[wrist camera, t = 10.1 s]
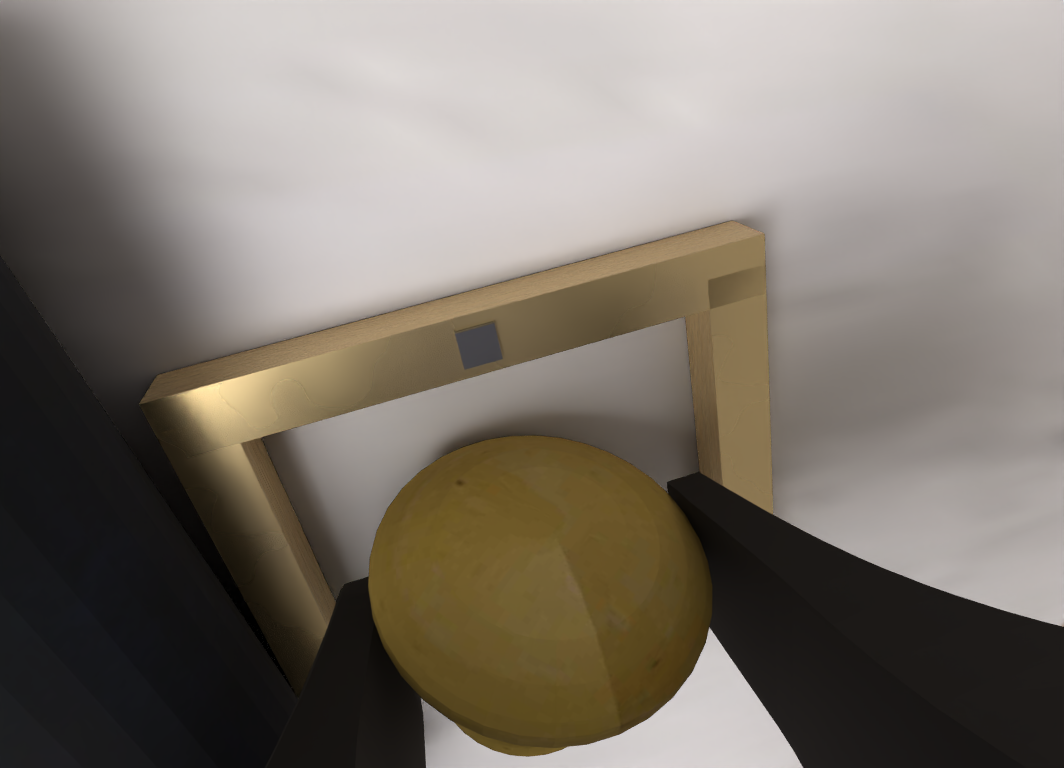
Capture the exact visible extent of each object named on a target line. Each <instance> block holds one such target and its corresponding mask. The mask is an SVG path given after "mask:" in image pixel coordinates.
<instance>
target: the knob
mask: <svg viewBox="0 0 1064 768" xmlns="http://www.w3.org/2000/svg"><path fill="white" fill-rule="evenodd" d="M368 589H369V596H370V602H371V609H372V616H373V620H374V623H375V625H376V628H377V631H378V633H379V636H380V639H381V642H382V644H383V647H384V649H385V650H386V652H387V654H388V655H389V657H390V659H391V660H392V662H393V663H394V665H395V667H396V668H397V670H398V672H399V673H400V675H401V676H402V677H403V678H404V680H405V681H406V682H407V683H408V684H409V685H410V686H411V687H412V688H413V689H414V690H415V691H416V693H417V694H418V695H419V696H420V697H421V698H422V699H423V700H424V701H425V702H427V703H428V704H429V705H431V706H432V707H433V708H435V709H436V710H437V711H439V712H440V713H442V714H443V715H444V716H446V717H447V718H448V719H450V720H451V721H453V722H455V723H456V725H457V726H458V727H459V728H460V729H461V730H462V731H463V732H464V733H465V734H467V735H468V736H469V737H471V738H472V739H473V740H475V741H476V742H477V743H479V744H481V745H484V746H486V747H488V748H490V749H492V750H494V751H498V752H501V753H505V754H508V755H515V756H538V755H546V754H549V753H552V752H556V751H559V750H562V749H564V748H566V747H568V746H578V745H587V744H590V743H594V742H597V741H600V740H603V739H606V738H610V737H613V736H616V735H619V734H621V733H623V732H625V731H627V730H628V729H630V728H632V727H634V726H636V725H638V724H639V723H641V722H643V721H645V720H647V719H648V718H650V717H651V716H652V715H653V714H654V713H655V712H657V711H658V710H659V709H660V708H661V707H662V706H664V705H665V704H666V703H667V702H668V701H669V700H671V699H672V698H673V697H674V695H675V694H676V693H677V691H678V690H679V689H680V687H681V686H682V685H683V683H684V682H685V681H686V680H687V678H688V677H689V676H690V674H691V673H692V671H693V669H694V667H695V665H696V663H697V661H698V658H699V656H700V654H701V652H702V650H703V648H704V645H705V643H706V639H707V634H708V630H709V626H710V621H711V617H712V582H711V576H710V571H709V565H708V560H707V558H706V555H705V552H704V550H703V547H702V544H701V542H700V539H699V537H698V536H697V534H696V532H695V531H694V529H693V527H692V525H691V524H690V522H689V520H688V518H687V517H686V515H685V513H684V512H683V511H682V510H681V508H680V507H679V506H678V505H677V503H676V502H675V501H674V500H673V498H672V497H671V496H670V495H669V494H668V493H667V492H666V491H665V490H664V489H663V488H662V487H660V486H659V485H658V484H657V483H656V482H655V481H654V480H653V479H652V478H650V477H649V476H648V475H646V474H645V473H643V472H642V471H640V470H639V469H637V468H636V467H635V466H633V465H632V464H630V463H628V462H626V461H624V460H623V459H621V458H619V457H617V456H615V455H613V454H611V453H609V452H607V451H604V450H601V449H598V448H596V447H593V446H590V445H587V444H585V443H580V442H576V441H572V440H567V439H563V438H556V437H546V436H536V435H532V436H508V437H502V438H496V439H489V440H485V441H481V442H478V443H475V444H471V445H468V446H465V447H462V448H460V449H458V450H456V451H453V452H451V453H449V454H447V455H445V456H443V457H441V458H439V459H438V460H436V461H435V462H433V463H432V464H430V465H429V466H427V467H426V468H424V469H423V470H421V471H420V472H419V473H418V474H417V475H416V476H415V477H414V478H413V479H412V480H411V481H410V482H408V483H407V484H406V485H405V486H404V487H403V488H402V490H401V491H400V492H399V494H398V495H397V496H396V498H395V499H394V500H393V502H392V503H391V504H390V506H389V507H388V509H387V511H386V513H385V515H384V517H383V519H382V521H381V523H380V525H379V527H378V529H377V532H376V536H375V540H374V544H373V548H372V551H371V555H370V563H369V582H368Z"/></svg>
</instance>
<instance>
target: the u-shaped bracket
mask: <svg viewBox="0 0 1064 768" xmlns="http://www.w3.org/2000/svg"><path fill="white" fill-rule="evenodd" d="M681 317H685V319H686V330H687V341H688V352H689V363H690V373H691V384H692V395H693V406H694V417H695V427H696V438H697V449H698V460H699V471H700V473H702V474H703V475H705V476H707V477H709V478H710V479H712V480H714V481H715V482H717V483H719V484H721V485H722V486H724V487H726V488H727V489H729V490H731V491H733V492H734V493H736V494H738V495H739V496H741V497H743V498H745V499H746V500H748V501H750V502H752V503H753V504H755V505H757V506H758V507H760V508H762V509H764V510H766V511H767V512H769V513H771V514H773V493H772V460H771V428H770V395H769V363H768V330H767V298H766V265H765V234H764V233H762V232H759V231H757V230H754V229H752V228H749V227H747V226H744V225H742V224H740V223H737V222H735V221H729V222H726V223H722V224H718V225H714V226H711V227H707V228H703V229H700V230H696V231H692V232H688V233H685V234H681V235H677V236H673V237H670V238H666V239H662V240H659V241H655V242H651V243H647V244H644V245H640V246H636V247H632V248H629V249H625V250H621V251H618V252H614V253H610V254H606V255H603V256H599V257H595V258H591V259H588V260H584V261H580V262H577V263H573V264H569V265H565V266H562V267H558V268H554V269H550V270H547V271H543V272H539V273H536V274H532V275H528V276H524V277H521V278H517V279H513V280H509V281H506V282H502V283H498V284H495V285H491V286H487V287H483V288H480V289H476V290H472V291H468V292H465V293H461V294H457V295H454V296H450V297H446V298H442V299H439V300H435V301H431V302H427V303H424V304H420V305H416V306H413V307H409V308H405V309H401V310H398V311H394V312H390V313H386V314H383V315H379V316H375V317H372V318H368V319H364V320H360V321H357V322H353V323H349V324H345V325H342V326H338V327H334V328H331V329H327V330H323V331H319V332H316V333H312V334H308V335H304V336H301V337H297V338H293V339H290V340H286V341H282V342H278V343H275V344H271V345H267V346H263V347H260V348H256V349H252V350H249V351H245V352H241V353H237V354H234V355H230V356H226V357H222V358H219V359H215V360H211V361H208V362H204V363H200V364H196V365H193V366H189V367H185V368H181V369H178V370H174V371H170V372H167V373H163V374H159V375H157V376H156V378H155V379H154V381H153V382H152V384H151V386H150V387H149V389H148V390H147V392H146V394H145V395H144V397H143V398H142V400H141V402H140V403H139V406H140V408H141V409H142V411H143V413H144V415H145V417H146V419H147V421H148V422H149V424H150V426H151V428H152V430H153V432H154V433H155V435H156V437H157V439H158V441H159V443H160V445H161V446H162V448H163V450H164V452H165V454H166V456H167V457H168V459H169V461H170V463H171V465H172V467H173V469H174V470H175V472H176V474H177V476H178V478H179V480H180V481H181V483H182V485H183V487H184V489H185V491H186V493H187V494H188V496H189V498H190V500H191V502H192V504H193V505H194V507H195V509H196V511H197V513H198V515H199V516H200V518H201V520H202V522H203V524H204V526H205V528H206V529H207V531H208V533H209V535H210V537H211V539H212V540H213V542H214V544H215V546H216V548H217V550H218V552H219V553H220V555H221V557H222V559H223V561H224V563H225V564H226V566H227V568H228V570H229V572H230V574H231V576H232V577H233V579H234V581H235V583H236V585H237V587H238V588H239V590H240V592H241V594H242V596H243V598H244V600H245V601H246V603H247V605H248V607H249V609H250V611H251V612H252V614H253V616H254V618H255V620H256V622H257V624H258V625H259V627H260V629H261V631H262V633H263V635H264V636H265V638H266V640H267V642H268V644H269V646H270V647H271V649H272V651H273V653H274V655H275V657H276V659H277V660H278V662H279V664H280V666H281V668H282V670H283V671H284V673H285V675H286V677H287V679H288V681H289V683H290V684H291V686H292V688H293V690H294V692H295V694H296V695H297V697H298V698H299V696H300V693H301V691H302V689H303V686H304V684H305V682H306V679H307V677H308V674H309V672H310V670H311V667H312V665H313V663H314V660H315V658H316V655H317V653H318V650H319V648H320V645H321V643H322V640H323V637H324V635H325V632H326V629H327V627H328V624H329V621H330V619H331V616H332V613H333V610H334V607H335V604H336V602H335V600H334V597H333V595H332V593H331V591H330V589H329V587H328V584H327V582H326V580H325V578H324V576H323V573H322V571H321V569H320V567H319V565H318V562H317V560H316V558H315V556H314V554H313V551H312V549H311V547H310V545H309V543H308V540H307V538H306V536H305V534H304V532H303V529H302V527H301V525H300V523H299V521H298V518H297V516H296V514H295V512H294V510H293V507H292V505H291V503H290V501H289V499H288V496H287V494H286V492H285V490H284V488H283V485H282V483H281V481H280V479H279V477H278V475H277V472H276V470H275V468H274V466H273V464H272V461H271V459H270V457H269V455H268V453H267V450H266V448H265V446H264V444H263V442H262V439H261V437H264V436H267V435H271V434H274V433H278V432H281V431H285V430H289V429H292V428H296V427H299V426H303V425H306V424H310V423H313V422H317V421H320V420H324V419H327V418H331V417H334V416H338V415H341V414H345V413H348V412H352V411H355V410H359V409H362V408H366V407H369V406H373V405H376V404H380V403H383V402H387V401H390V400H394V399H397V398H401V397H404V396H408V395H411V394H415V393H418V392H422V391H425V390H429V389H432V388H436V387H439V386H443V385H446V384H450V383H453V382H457V381H460V380H464V379H467V378H471V377H474V376H478V375H481V374H485V373H488V372H492V371H495V370H499V369H502V368H506V367H510V366H513V365H517V364H520V363H524V362H527V361H531V360H534V359H538V358H541V357H545V356H548V355H552V354H555V353H559V352H562V351H566V350H569V349H573V348H576V347H580V346H583V345H587V344H590V343H594V342H597V341H601V340H604V339H608V338H611V337H615V336H618V335H622V334H625V333H629V332H632V331H636V330H639V329H643V328H646V327H650V326H653V325H657V324H660V323H664V322H667V321H671V320H674V319H678V318H681Z"/></svg>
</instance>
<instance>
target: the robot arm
mask: <svg viewBox="0 0 1064 768" xmlns="http://www.w3.org/2000/svg"><path fill="white" fill-rule="evenodd" d="M667 487H668V494H669V495H670V496H671V497H672V498H673V500H674V501H675V502H676V503H677V505H678V506H679V507H680V508H681V510H682V511H683V512H684V513H685V515H686V517H687V518H688V520H689V522H690V524H691V525H692V527H693V529H694V531H695V532H696V534H697V536H698V537H699V539H700V542H701V544H702V547H703V550H704V552H705V555H706V558H707V560H708V565H709V571H710V576H711V582H712V617H711V621H710V626H709V627H710V628H711V630H712V631H713V633H714V634H715V636H716V637H717V639H718V640H719V642H720V643H721V644H722V646H723V647H724V649H725V650H726V652H727V653H728V655H729V656H730V658H731V659H732V660H733V662H734V663H735V665H736V666H737V668H738V669H739V671H740V672H741V673H742V675H743V676H744V678H745V679H746V681H747V682H748V684H749V685H750V686H751V688H752V689H753V691H754V692H755V694H756V695H757V697H758V698H759V699H760V701H761V702H762V704H763V705H764V707H765V708H766V710H767V711H768V712H769V714H770V715H771V717H772V718H773V720H774V721H775V723H776V724H777V725H778V727H779V729H780V730H781V732H782V733H783V735H784V736H785V738H786V740H787V741H788V743H789V744H790V746H791V747H792V749H793V751H794V752H795V754H796V756H797V757H798V759H799V761H800V763H801V764H802V766H803V768H1064V627H1062V626H1058V625H1054V624H1050V623H1046V622H1042V621H1038V620H1035V619H1031V618H1028V617H1024V616H1021V615H1017V614H1013V613H1010V612H1006V611H1003V610H1000V609H997V608H994V607H990V606H987V605H984V604H981V603H978V602H975V601H972V600H968V599H965V598H962V597H959V596H956V595H953V594H950V593H947V592H944V591H941V590H939V589H936V588H933V587H930V586H927V585H925V584H922V583H920V582H917V581H914V580H912V579H909V578H907V577H904V576H902V575H899V574H897V573H894V572H891V571H889V570H886V569H884V568H881V567H879V566H877V565H874V564H872V563H870V562H867V561H865V560H863V559H861V558H858V557H856V556H854V555H852V554H850V553H848V552H846V551H843V550H841V549H839V548H837V547H835V546H833V545H831V544H828V543H826V542H824V541H822V540H820V539H818V538H816V537H814V536H812V535H810V534H808V533H806V532H804V531H802V530H801V529H799V528H797V527H795V526H793V525H791V524H789V523H787V522H786V521H784V520H782V519H780V518H778V517H776V516H774V515H773V514H771V513H769V512H767V511H766V510H764V509H762V508H760V507H758V506H757V505H755V504H753V503H752V502H750V501H748V500H746V499H745V498H743V497H741V496H739V495H738V494H736V493H734V492H733V491H731V490H729V489H727V488H726V487H724V486H722V485H721V484H719V483H717V482H715V481H714V480H712V479H710V478H709V477H707V476H705V475H703V474H702V473H700V472H697V473H694V474H691V475H688V476H685V477H682V478H678V479H675V480H672V481H669V482H667ZM368 582H369V577H366V578H363V579H360V580H356V581H353V582H350V583H347V584H344V586H343V587H342V589H341V590H340V593H339V596H338V598H337V601H336V604H335V607H334V610H333V613H332V616H331V619H330V621H329V624H328V627H327V629H326V632H325V635H324V637H323V640H322V643H321V645H320V648H319V650H318V653H317V655H316V658H315V660H314V663H313V665H312V667H311V670H310V672H309V674H308V677H307V679H306V682H305V684H304V686H303V689H302V691H301V693H300V696H299V698H298V700H297V702H296V705H295V707H294V709H293V711H292V713H291V715H290V717H289V719H288V721H287V723H286V726H285V728H284V730H283V732H282V734H281V736H280V738H279V740H278V742H277V744H276V746H275V748H274V750H273V752H272V754H271V756H270V758H269V760H268V762H267V764H266V766H265V768H426V761H425V741H424V722H423V711H422V704H421V698H420V696H419V695H418V694H417V693H416V691H415V690H414V689H413V688H412V687H411V686H410V685H409V684H408V683H407V682H406V681H405V680H404V678H403V677H402V676H401V675H400V673H399V672H398V670H397V668H396V667H395V665H394V663H393V662H392V660H391V659H390V657H389V655H388V654H387V652H386V650H385V649H384V647H383V644H382V642H381V639H380V636H379V633H378V631H377V628H376V625H375V623H374V620H373V616H372V609H371V602H370V596H369V589H368Z"/></svg>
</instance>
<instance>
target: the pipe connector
mask: <svg viewBox="0 0 1064 768" xmlns="http://www.w3.org/2000/svg"><path fill="white" fill-rule="evenodd" d="M297 700H298V698H297V696H296V695H295V693H294V692H293V690H292V689H291V687H290V686H289V684H288V683H287V681H286V680H285V678H284V677H283V676H282V674H281V673H280V671H279V670H278V668H277V667H276V665H275V664H274V662H273V661H272V659H271V658H270V656H269V655H268V653H267V652H266V650H265V649H264V647H263V646H262V644H261V643H260V641H259V640H258V638H257V637H256V635H255V634H254V632H253V631H252V629H251V628H250V626H249V625H248V623H247V622H246V620H245V619H244V617H243V616H242V615H241V613H240V612H239V610H238V609H237V607H236V606H235V604H234V603H233V601H232V600H231V598H230V597H229V595H228V594H227V592H226V591H225V589H224V588H223V586H222V585H221V583H220V582H219V580H218V579H217V577H216V576H215V574H214V573H213V571H212V570H211V568H210V567H209V565H208V564H207V562H206V561H205V559H204V558H203V556H202V555H201V554H200V552H199V551H198V549H197V548H196V546H195V545H194V543H193V542H192V540H191V539H190V537H189V536H188V534H187V533H186V531H185V530H184V528H183V527H182V525H181V524H180V522H179V521H178V519H177V518H176V516H175V515H174V513H173V512H172V510H171V509H170V507H169V506H168V504H167V503H166V501H165V500H164V498H163V497H162V495H161V494H160V493H159V491H158V490H157V488H156V487H155V485H154V484H153V482H152V481H151V479H150V478H149V476H148V475H147V473H146V472H145V470H144V469H143V467H142V466H141V464H140V463H139V461H138V460H137V458H136V457H135V455H134V454H133V452H132V451H131V449H130V448H129V446H128V445H127V443H126V442H125V440H124V439H123V437H122V436H121V434H120V433H119V432H118V430H117V429H116V427H115V426H114V424H113V423H112V421H111V420H110V418H109V417H108V415H107V414H106V412H105V411H104V409H103V408H102V406H101V405H100V403H99V402H98V400H97V399H96V397H95V396H94V394H93V393H92V391H91V390H90V388H89V387H88V385H87V384H86V382H85V381H84V379H83V378H82V376H81V375H80V373H79V372H78V371H77V369H76V368H75V366H74V365H73V363H72V362H71V360H70V359H69V357H68V356H67V354H66V353H65V351H64V350H63V348H62V347H61V345H60V344H59V342H58V341H57V339H56V338H55V336H54V335H53V333H52V332H51V330H50V329H49V327H48V326H47V324H46V323H45V321H44V320H43V318H42V317H41V315H40V314H39V312H38V311H37V310H36V308H35V307H34V305H33V304H32V302H31V301H30V299H29V298H28V296H27V295H26V293H25V292H24V290H23V289H22V287H21V286H20V284H19V283H18V281H17V280H16V278H15V277H14V275H13V274H12V272H11V271H10V269H9V268H8V266H7V265H6V263H5V262H4V260H3V259H2V257H1V256H0V768H265V766H266V764H267V762H268V760H269V758H270V756H271V754H272V752H273V750H274V748H275V746H276V744H277V742H278V740H279V738H280V736H281V734H282V732H283V730H284V728H285V726H286V723H287V721H288V719H289V717H290V715H291V713H292V711H293V709H294V707H295V705H296V702H297Z"/></svg>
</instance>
